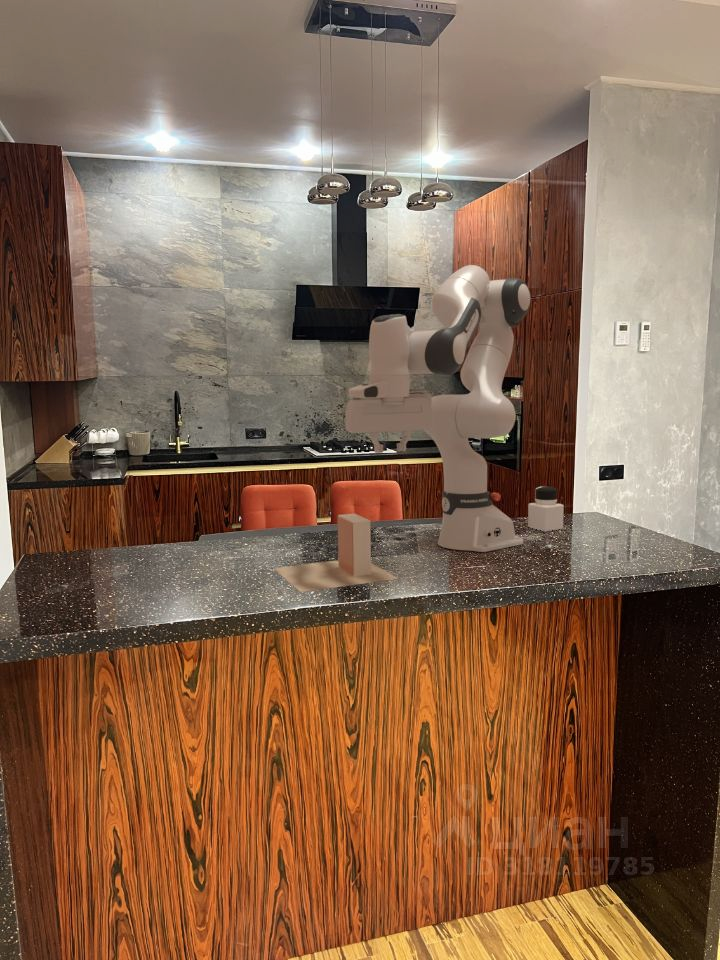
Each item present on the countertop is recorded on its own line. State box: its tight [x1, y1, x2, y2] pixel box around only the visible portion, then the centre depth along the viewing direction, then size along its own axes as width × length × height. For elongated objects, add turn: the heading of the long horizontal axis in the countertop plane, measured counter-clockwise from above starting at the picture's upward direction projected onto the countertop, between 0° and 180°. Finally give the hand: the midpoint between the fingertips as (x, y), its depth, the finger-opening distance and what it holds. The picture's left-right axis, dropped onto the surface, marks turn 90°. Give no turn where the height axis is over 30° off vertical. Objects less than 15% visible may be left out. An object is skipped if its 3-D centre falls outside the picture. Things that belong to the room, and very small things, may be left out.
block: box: [337, 513, 372, 577], centre depth 156 cm, size 4×9×12 cm, turn 23°
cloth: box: [273, 560, 399, 593], centre depth 155 cm, size 22×20×1 cm
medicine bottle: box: [527, 486, 565, 533], centre depth 201 cm, size 7×7×12 cm
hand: (390, 451), depth 157 cm, fingers open, 4 cm apart
